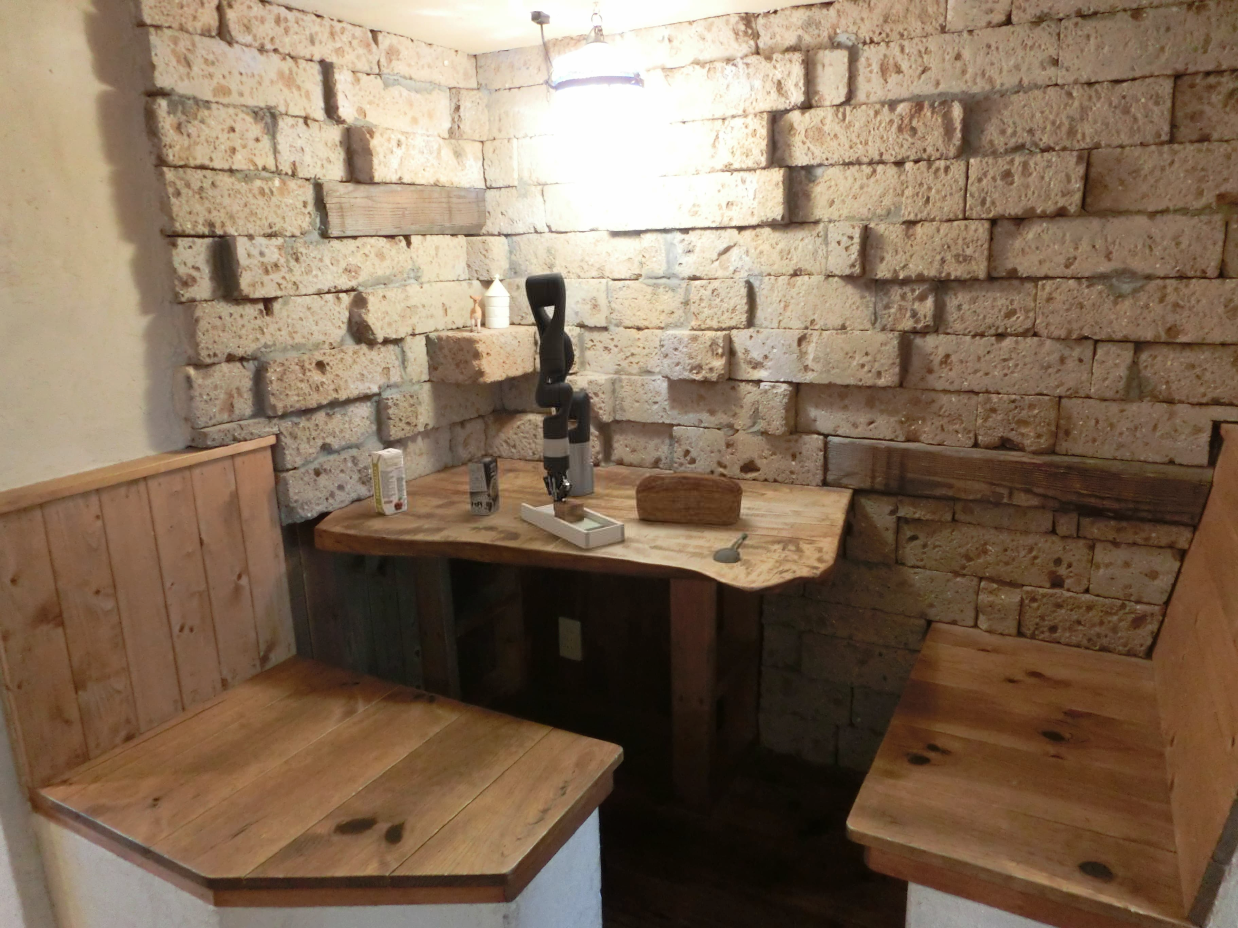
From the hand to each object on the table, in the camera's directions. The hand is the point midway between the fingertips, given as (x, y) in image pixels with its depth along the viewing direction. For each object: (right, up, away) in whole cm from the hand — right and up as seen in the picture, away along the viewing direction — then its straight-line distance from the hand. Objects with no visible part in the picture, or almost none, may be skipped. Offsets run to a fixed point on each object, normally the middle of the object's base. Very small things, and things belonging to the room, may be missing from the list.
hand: (558, 511), depth 244 cm
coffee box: (-23, -1, +15) cm, 28 cm away
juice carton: (-52, -1, +17) cm, 55 cm away
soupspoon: (+47, -9, -24) cm, 54 cm away
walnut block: (+3, -2, -4) cm, 6 cm away
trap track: (+4, -5, -4) cm, 7 cm away
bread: (+38, -3, +3) cm, 38 cm away
